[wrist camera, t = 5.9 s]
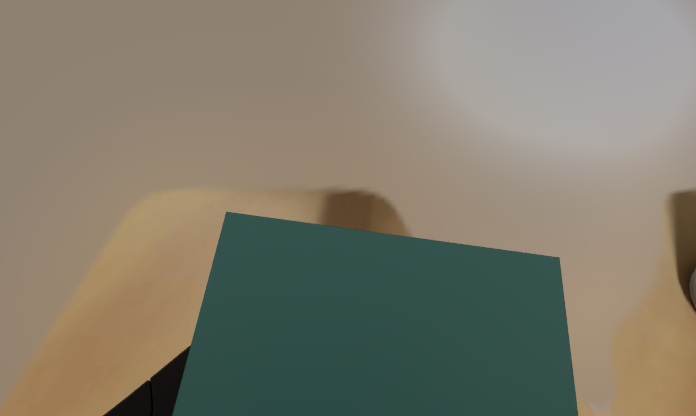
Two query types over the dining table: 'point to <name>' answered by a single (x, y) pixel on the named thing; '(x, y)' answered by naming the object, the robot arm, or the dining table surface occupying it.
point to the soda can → (693, 287)
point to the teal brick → (375, 327)
